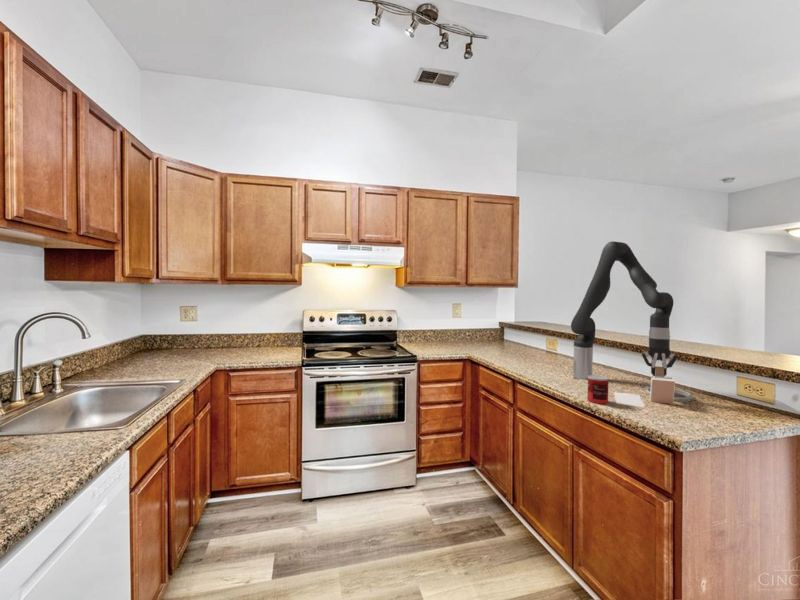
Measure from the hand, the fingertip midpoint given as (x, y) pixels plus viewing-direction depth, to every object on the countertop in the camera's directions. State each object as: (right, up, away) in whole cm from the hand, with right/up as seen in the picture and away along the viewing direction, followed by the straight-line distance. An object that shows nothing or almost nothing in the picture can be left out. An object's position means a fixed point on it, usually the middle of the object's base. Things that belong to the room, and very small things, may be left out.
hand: (658, 375), depth 162 cm
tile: (-4, -10, -8) cm, 13 cm away
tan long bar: (-1, -1, -2) cm, 3 cm away
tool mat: (-16, -10, -4) cm, 19 cm away
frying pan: (+5, -10, +7) cm, 13 cm away
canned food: (-31, -10, -7) cm, 33 cm away
